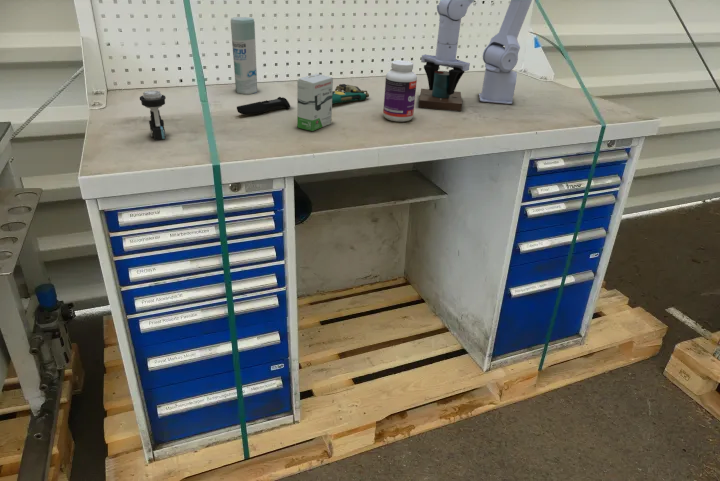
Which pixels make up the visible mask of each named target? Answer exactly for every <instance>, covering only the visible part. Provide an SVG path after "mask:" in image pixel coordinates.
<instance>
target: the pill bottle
mask: <svg viewBox="0 0 720 481" xmlns="http://www.w3.org/2000/svg"><path fill="white" fill-rule="evenodd" d="M390 68H391V70H388V72H386V74H385V80H384V83H385V84H384V98H383V109H382V115H383V117H384V118H385V119H386V120H388V121H392V122H397V123H399V122H400V123H401V122H408V121H411V120H412V119H413V117H414V114H415V112H414V111H415V102H416V93H417V92H416V90H417V83H418V82H417V81H418V76H417V74H416V73H415V72H414V71H413V69H414V62H413V61H409V60H401V59H400V60H397V59H396V60H392V61H391V66H390Z"/></svg>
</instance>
